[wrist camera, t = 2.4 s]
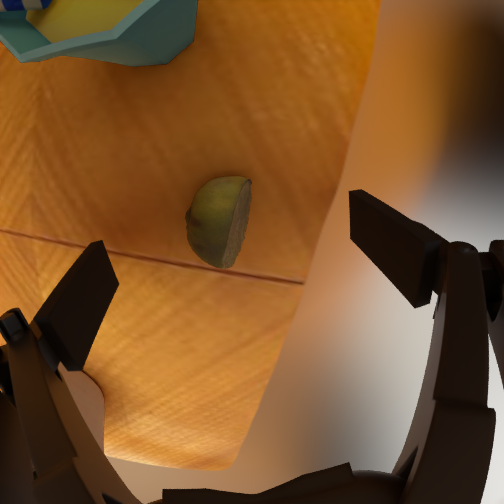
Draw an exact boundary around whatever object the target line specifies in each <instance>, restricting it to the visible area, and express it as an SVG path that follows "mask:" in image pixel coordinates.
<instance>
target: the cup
mask: <svg viewBox="0 0 504 504" xmlns="http://www.w3.org/2000/svg"><path fill="white" fill-rule="evenodd" d="M197 3H198V0H0V41H1V42H2V43H3V44H4V45H5V47H6V48H7V49H8V50H9V51H10V52H11V53H12V54H13V55H14V56H15V57H16V58H17V59H18V60H19V61H20V63H26V62H40V61H43V60H47V59H50V58H54V57H58V56H70V57H79V58H86V59H93V60H99V61H106V62H111V63H117V64H122V65H127V66H132V67H136V66H146V65H160V64H168V63H169V62H170V61H171V60H172V59H173V58H174V57H176V56H177V55H178V54H179V53H180V52H181V51H182V50H184V49H185V48H186V47H187V46H188V45H190V44H191V43H192V42H193V41H194V33H195V23H196V13H197Z"/></svg>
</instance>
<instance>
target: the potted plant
mask: <svg viewBox="0 0 504 504" xmlns="http://www.w3.org/2000/svg"><path fill="white" fill-rule="evenodd" d="M58 369H59V371H60V372H61V373H62V375H63V377H64V380H65V382H66V384H67V386H68V389H69V391H70V393H71V395H72V397H73V399H74V401H75V403H76V405H77V407H78V409H79V411H80V413H81V415H82V417H83V419H84V420H85V422H86V424H87V426H88V428H89V429H90V431H91V433H92V435H93V436H94V438H95V440H96V441H97V443H98V445H99V446H100V448H101V450H102V451H103V453H104V416H105V406H104V397H103V394H102V392H101V390H100V388H99V387H98V386H97V385H96V384H95V383H94V381H93V380H92V379H91V378H89V377H88V376H87V375H86V374H84V373H83V372H81V371H72V372H68V371H67V370H66V368H65V367H64V366H63V364H62V363H61V361H60V363H59V365H58ZM31 462H32V460H31ZM32 470H33V477H34V480H35V479H37V478H38V477H37V474H36V471H35V468H34V466H33V463H32Z"/></svg>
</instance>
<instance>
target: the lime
mask: <svg viewBox="0 0 504 504" xmlns="http://www.w3.org/2000/svg"><path fill="white" fill-rule="evenodd" d="M251 184H252V182H251V180H250V179H248V178H246V177H241V176H226V177H220V178H216V179H213V180H211V181H209V182H207V183H206V184H205V185H204V186H203V187H201V188H200V189H199V190H198V192H197V193H196V194H195V196H194V199H193V202H192V204H191V207H190V208H189V210H188V211H187V212H186V216H185V220H186V224H187V226H186V229H187V239H188V242H189V245H190V246H191V248H192V250H193V251H194V252H195V253H196V255H198V256H199V258H201V259H202V260H203V261H204V262H206V263H208V264H210V265H212V266H214V267H217V268H222V269H226V268H230V267H232V266H233V264H234V263H235V260H236V257H237V256H238V253H239V252H240V250H241V245H242V242H243V240H244V238H245V236H244V234H245V232H246V228H247V224H248V215H249V208H250V202H251Z"/></svg>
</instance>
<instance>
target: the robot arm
mask: <svg viewBox="0 0 504 504" xmlns="http://www.w3.org/2000/svg"><path fill="white" fill-rule="evenodd" d="M349 207H350V239H351V240H352V241H353V242H354V243H355V244H356V245H357V246H358V247H359V248H360V249H361V250H362V251H363V252H364V253H365V254H366V256H367V257H368V258H370V260H371V261H372V262H373V263H374V264H375V265H376V266H377V267H378V268H379V269H380V270H381V271H382V272H383V274H384V275H385V276H386V277H387V278H388V279H389V280H390V281H391V282H392V283H393V284H394V286H395V287H396V288H397V289H398V290H399V291H400V292H401V293H402V294H403V296H404V297H405V298H406V299H407V300H408V301H409V302H410V304H411V305H412V306H413V307H414V308H418V307H421V306H424V305H427V304H429V303H430V300H431V295H432V291H434V292H435V293H436V294H437V295H438V299H437V303H436V307H435V311H434V315H433V319H434V326H433V333H432V339H431V345H430V350H429V356H428V361H427V366H426V370H425V375H424V379H423V383H422V388H421V392H420V396H419V399H418V403H417V407H416V410H415V414H414V417H413V420H412V424H411V427H410V430H409V433H408V436H407V439H406V442H405V445H404V448H403V450H402V453H401V455H400V457H399V459H398V461H397V463H396V465H395V467H394V469H393V471H392V473H391V474H390V473H385V472H380V471H370V470H366V471H365V470H363V471H362V470H359V471H352V469H351V466H350V463H349V462H348V463H345V464H342V465H338V466H334V467H331V468H328V469H324V470H320V471H316V472H312V473H308V474H304V475H301V476H299V477H297V478H295V479H293V480H290V481H288V482H286V483H284V484H281V485H279V486H276V487H274V488H272V489H269V490H266V491H264V492H261V493H258V494H243V493H234V492H226V491H219V490H212V489H206V488H205V489H204V488H203V489H163V493H162V499H160V500H157V501H153V502H150V503H148V504H480V503H481V499H482V496H483V492H484V488H485V484H486V480H487V475H488V470H489V465H490V460H491V454H492V448H493V441H494V433H495V425H496V412H495V410H494V408H488V406H487V399H488V381H489V340H488V334H489V337H490V340H491V343H492V346H493V350H494V353H495V356H496V360H497V364H498V367H499V371H500V375H501V379H502V384H503V388H504V240H493V241H491V243H490V247H489V252H478V250H477V249H476V248H475V247H474V246H473V245H471V244H469V243H466V242H461V241H455V242H451V243H450V242H448V241H447V240H445V239H444V238H443V237H441V236H440V235H438V234H437V233H435V232H434V231H432V230H431V229H430V230H429V228H428V227H426V226H425V225H423V224H421V223H419V222H416V221H413V220H411V219H409V218H407V217H406V216H405V215H403V214H401V213H400V212H398V211H397V210H395V209H394V208H392V207H390V206H389V205H387V204H385V203H384V202H382V201H381V200H379V199H377V198H376V197H374V196H372V195H370V194H368V193H367V192H365V191H364V190H362V189H361V190H353V191H349ZM118 286H119V282H118V279H117V277H116V275H115V272H114V270H113V267H112V264H111V262H110V259H109V257H108V254H107V251H106V249H105V246H104V243H103V240H100V241H96V242H92V243H90V244H89V245H88V247H87V248H86V249H85V250H84V251H83V253H82V254H81V255H80V256H79V257H78V259H77V260H76V261H75V262H74V264H73V265H72V266H71V268H70V269H69V270H68V271H67V273H66V274H65V275H64V277H63V278H62V279H61V280H60V282H59V283H58V284H57V286H56V287H55V288H54V290H53V291H52V293H51V294H50V295H49V297H48V298H47V300H46V301H45V302H44V304H43V305H42V307H41V308H40V309H39V311H38V312H37V314H36V315H35V317H34V318H33V320H32V321H31V323H30V324H28V322H27V321H26V319H25V317H24V316H23V314H22V312H21V310H20V309H19V308H13V309H10V310H8V311H7V312H5V313H4V314H3V315H2V316H1V317H0V333H1V334H2V336H3V338H4V339H5V341H6V342H7V344H6V345H3V346H0V389H1V390H2V392H1V391H0V504H142V503H141V502H140V501H139V500H138V499H137V498H136V497H135V496H134V495H133V494H132V493H131V492H130V490H129V489H128V488H127V486H126V485H125V484H124V482H123V481H122V480H121V478H120V477H119V475H118V474H117V473H116V471H115V470H114V468H113V467H112V465H111V464H110V462H109V461H108V459H107V458H106V456H105V454H104V453H103V451H102V450H101V448H100V446H99V445H98V443H97V441H96V440H95V438H94V436H93V435H92V433H91V431H90V429H89V428H88V426H87V424H86V422H85V420H84V419H83V417H82V415H81V413H80V411H79V409H78V407H77V405H76V403H75V401H74V399H73V397H72V395H71V393H70V391H69V389H68V386H67V384H66V382H65V380H64V377H63V375H62V373H61V372H60V371H59V369H58V365H59V363H60V361H61V363H62V364H63V366H64V367H65V368H66V370H67V371H68V372H72V371H82V369H83V367H84V364H85V362H86V359H87V357H88V354H89V352H90V349H91V347H92V344H93V342H94V339H95V337H96V334H97V332H98V330H99V327H100V325H101V323H102V321H103V318H104V316H105V314H106V312H107V309H108V307H109V305H110V303H111V301H112V298H113V296H114V294H115V292H116V290H117V288H118ZM31 460H32V462H31ZM32 463H33V466H34V468H35V471H36V474H37V477H38V478H37V479H35V480H34V477H33V470H32Z"/></svg>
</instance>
